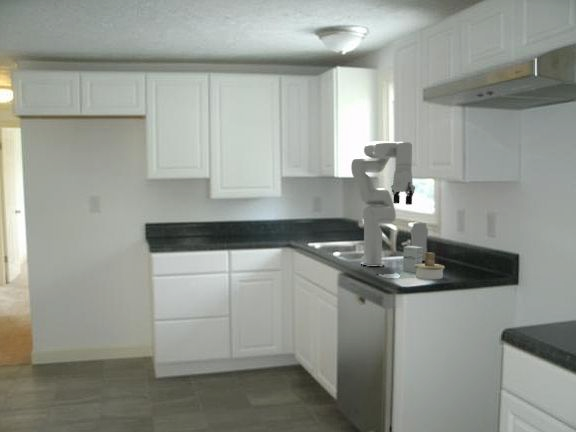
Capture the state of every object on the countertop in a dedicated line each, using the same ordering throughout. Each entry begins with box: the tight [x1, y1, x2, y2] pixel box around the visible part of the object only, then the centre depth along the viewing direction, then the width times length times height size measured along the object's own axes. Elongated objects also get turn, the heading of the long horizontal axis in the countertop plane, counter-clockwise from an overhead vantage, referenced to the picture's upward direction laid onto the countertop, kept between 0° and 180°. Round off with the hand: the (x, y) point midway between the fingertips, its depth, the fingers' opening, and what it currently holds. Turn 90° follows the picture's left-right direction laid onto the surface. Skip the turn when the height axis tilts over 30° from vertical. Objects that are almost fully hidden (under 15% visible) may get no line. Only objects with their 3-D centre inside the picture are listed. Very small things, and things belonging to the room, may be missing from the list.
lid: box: [415, 252, 445, 270], centre depth 282 cm, size 14×14×7 cm
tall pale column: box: [410, 221, 429, 261], centre depth 335 cm, size 11×4×22 cm, turn 106°
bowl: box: [415, 268, 444, 280], centre depth 283 cm, size 12×12×5 cm
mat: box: [399, 272, 414, 279], centre depth 285 cm, size 14×14×1 cm
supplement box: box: [402, 245, 423, 273], centre depth 300 cm, size 7×7×13 cm
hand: (402, 203), depth 289 cm, fingers open, 9 cm apart
